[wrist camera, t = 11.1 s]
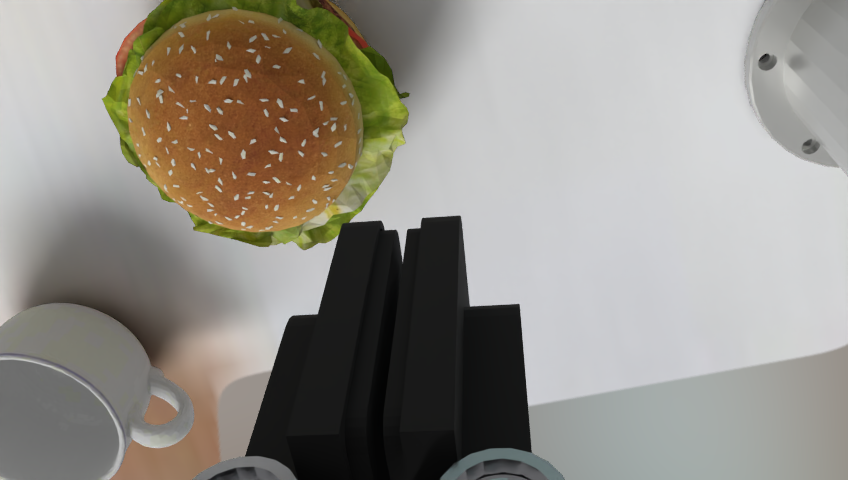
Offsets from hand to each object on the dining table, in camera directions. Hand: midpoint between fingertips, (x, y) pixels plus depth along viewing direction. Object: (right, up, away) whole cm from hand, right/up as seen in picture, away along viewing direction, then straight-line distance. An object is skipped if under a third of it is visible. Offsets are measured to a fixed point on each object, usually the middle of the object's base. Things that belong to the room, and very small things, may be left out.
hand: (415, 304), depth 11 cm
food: (-8, +9, +30) cm, 32 cm away
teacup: (-21, -6, +41) cm, 46 cm away
